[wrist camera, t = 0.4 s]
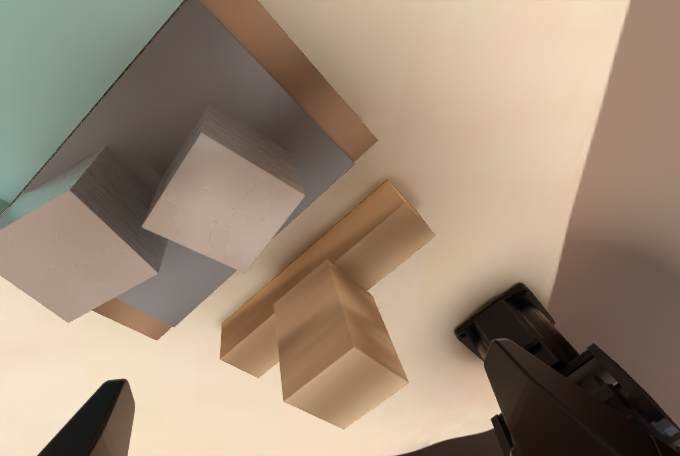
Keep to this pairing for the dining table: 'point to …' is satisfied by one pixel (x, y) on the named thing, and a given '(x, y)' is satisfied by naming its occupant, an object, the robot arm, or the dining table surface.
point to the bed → (183, 112)
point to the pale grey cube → (225, 191)
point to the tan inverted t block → (331, 314)
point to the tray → (61, 72)
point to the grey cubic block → (80, 237)
